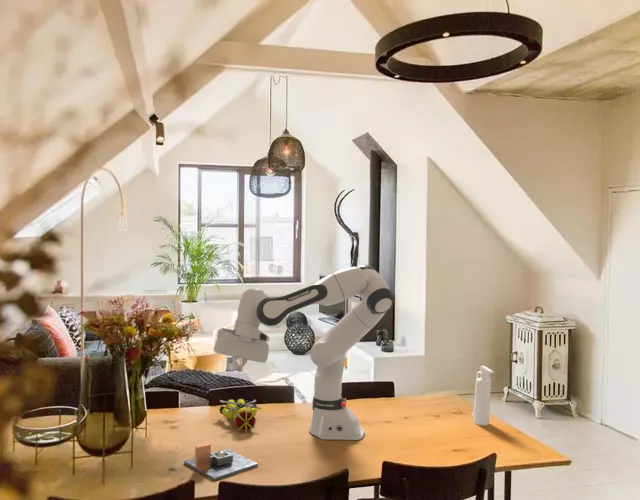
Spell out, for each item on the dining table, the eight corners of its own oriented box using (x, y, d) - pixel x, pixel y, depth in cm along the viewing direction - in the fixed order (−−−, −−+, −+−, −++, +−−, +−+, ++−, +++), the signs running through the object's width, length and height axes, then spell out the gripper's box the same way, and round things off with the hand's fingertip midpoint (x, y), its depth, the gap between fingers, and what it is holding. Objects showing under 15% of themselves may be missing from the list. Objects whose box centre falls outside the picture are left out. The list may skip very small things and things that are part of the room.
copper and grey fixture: (199, 470, 194) (200, 449, 194) (191, 464, 199) (192, 444, 198) (232, 462, 202) (233, 442, 202) (224, 456, 206) (224, 437, 206)
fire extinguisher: (479, 416, 263) (481, 362, 261) (495, 426, 252) (497, 369, 250) (466, 418, 261) (468, 362, 259) (481, 428, 250) (483, 370, 248)
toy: (216, 415, 259) (225, 436, 230) (217, 394, 259) (226, 413, 230) (253, 413, 263) (266, 433, 235) (253, 392, 263) (267, 410, 235)
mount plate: (257, 466, 202) (258, 453, 202) (213, 481, 190) (214, 467, 190) (227, 450, 215) (227, 438, 215) (184, 463, 203) (184, 450, 202)
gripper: (222, 326, 206) (213, 365, 202) (273, 338, 216) (265, 376, 212) (215, 326, 211) (207, 365, 208) (265, 338, 221) (258, 375, 217)
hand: (237, 370), depth 210 cm, fingers closed
